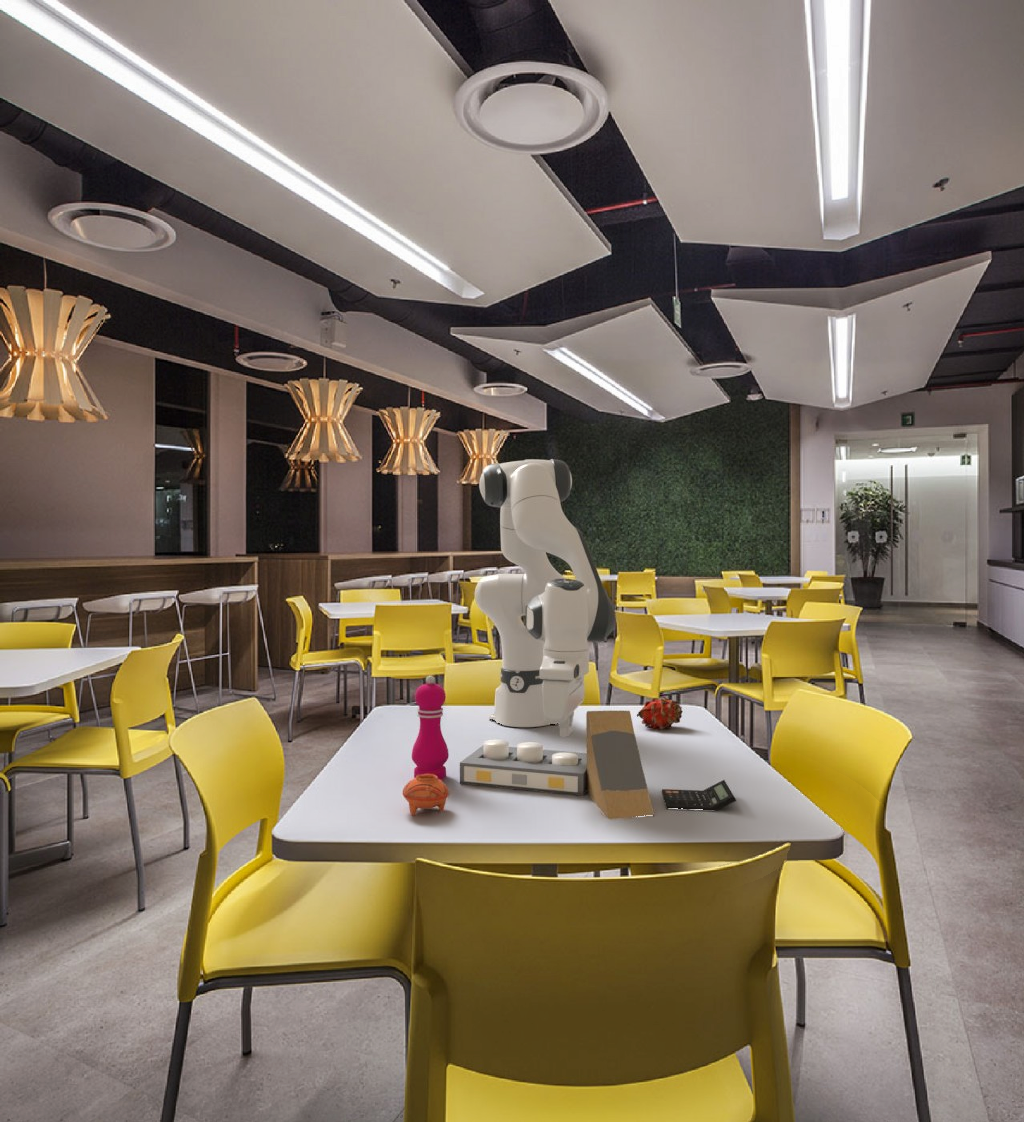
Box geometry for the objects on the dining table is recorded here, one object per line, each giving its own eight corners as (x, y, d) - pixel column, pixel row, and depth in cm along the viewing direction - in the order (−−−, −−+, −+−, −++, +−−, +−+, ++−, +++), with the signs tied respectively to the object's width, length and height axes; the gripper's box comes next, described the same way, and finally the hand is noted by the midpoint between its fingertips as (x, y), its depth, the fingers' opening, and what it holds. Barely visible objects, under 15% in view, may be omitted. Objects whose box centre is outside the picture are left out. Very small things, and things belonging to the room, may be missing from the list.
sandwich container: (606, 820, 121) (606, 729, 121) (585, 791, 136) (585, 710, 136) (656, 818, 122) (656, 728, 122) (629, 789, 137) (630, 709, 137)
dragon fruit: (687, 734, 185) (640, 742, 185) (676, 709, 192) (631, 716, 191) (689, 712, 180) (641, 719, 180) (678, 687, 187) (632, 694, 186)
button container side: (555, 772, 144) (555, 751, 144) (580, 775, 142) (580, 753, 142) (549, 780, 139) (549, 758, 139) (575, 782, 138) (575, 760, 138)
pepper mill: (416, 784, 139) (417, 679, 139) (407, 774, 145) (407, 673, 145) (453, 780, 141) (453, 677, 141) (442, 770, 148) (442, 671, 148)
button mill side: (488, 759, 148) (488, 738, 148) (511, 761, 146) (511, 740, 146) (479, 766, 143) (480, 744, 143) (504, 768, 142) (504, 746, 142)
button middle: (521, 762, 146) (521, 741, 146) (545, 764, 144) (545, 743, 144) (514, 769, 141) (514, 747, 141) (539, 771, 140) (539, 749, 140)
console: (483, 763, 153) (483, 744, 153) (597, 773, 146) (597, 753, 146) (458, 784, 139) (458, 763, 139) (582, 796, 132) (582, 774, 132)
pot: (392, 806, 126) (401, 766, 127) (435, 810, 129) (443, 772, 130) (405, 819, 119) (415, 777, 119) (450, 824, 122) (458, 783, 123)
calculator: (661, 793, 135) (661, 777, 135) (726, 796, 134) (726, 779, 134) (666, 811, 125) (667, 793, 125) (736, 813, 124) (736, 796, 124)
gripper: (562, 654, 152) (561, 721, 152) (536, 671, 132) (536, 747, 132) (592, 656, 150) (591, 723, 150) (571, 673, 130) (570, 750, 131)
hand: (565, 734), depth 141 cm, fingers closed
